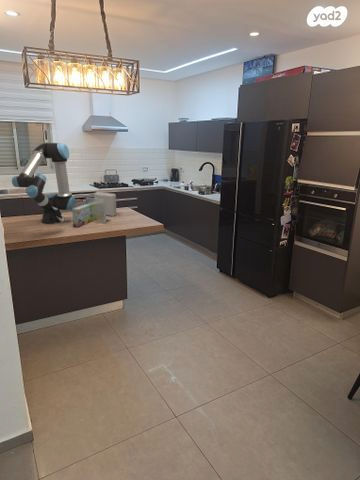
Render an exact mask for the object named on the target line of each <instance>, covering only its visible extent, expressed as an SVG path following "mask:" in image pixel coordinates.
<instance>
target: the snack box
mask: <svg viewBox="0 0 360 480" xmlns="http://www.w3.org/2000/svg"><path fill="white" fill-rule="evenodd" d="M71 213H72V227H73V228H81V227H83V226H84V225H86V224H89V223H91V222H92V221H91V205H90V204H86V203H85V204H82V205H80V206H79V205H78V206H77V207H74V208H73V209H72V210H71Z"/></svg>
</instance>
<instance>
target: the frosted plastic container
mask: <svg viewBox="0 0 360 480" xmlns="http://www.w3.org/2000/svg"><path fill="white" fill-rule="evenodd" d="M85 204H90V205H91V222H94V223H101V224H105V223H108V222H111V219H108V218H106V216H107V215H105V199H97V198H94V197H85Z"/></svg>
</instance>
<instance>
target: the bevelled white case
mask: <svg viewBox="0 0 360 480" xmlns="http://www.w3.org/2000/svg"><path fill="white" fill-rule="evenodd" d="M93 198H97V199H105V216H107V217H115V216H117V194H116V193H108V192H101V191H97V192H94V193H93Z"/></svg>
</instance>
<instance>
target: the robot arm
mask: <svg viewBox="0 0 360 480" xmlns="http://www.w3.org/2000/svg"><path fill="white" fill-rule="evenodd" d="M68 147H69V146H67V144H66V143H60V142H44V143H41V144H39V145H38V146H36V147H35V148H34V149H33V150H32V152H31V156H30V158H29V159H28V161H27V163H25V166H24V167H23V168H22V169H21V172H20V173H19V175H16V176H13V177H12V178H11V184H12V186H13V187H15V188H23V189H24V188H25V193H26V195H27V196H28V197H29V198H30V199H32V200H33V201H34V202H35V203H36V204H37V205H38V206H39V207H41V209H42V216H41V217H42V218H41V223H42V224H46V225H47V224H49V225H50V224H57V223H60V222H62V223H63V222H64V220H65V218H64V217H63V215H62V212H61V211H72V209H73V208H75V205H76V197H75V195H73V194H72V192H71V191H70V184H69V178H68V171H67V165H66V164H67V162H68V159H69V158H70V150H69V148H68ZM46 159H51V162H52V163H53V164H54V171H55V172H54V173H55V178H56V183H57V184H56V185H57V191H58V193H57V194H56V193H47V194H44V193H43V191H44V188H45V185H46V182H47V177H46V175H44V174H43V173H36V171H37V169H38V167H39V166H40V164H41V163H42V162H43V161H45V160H46ZM35 173H36V174H35ZM34 174H35V176H34Z"/></svg>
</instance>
